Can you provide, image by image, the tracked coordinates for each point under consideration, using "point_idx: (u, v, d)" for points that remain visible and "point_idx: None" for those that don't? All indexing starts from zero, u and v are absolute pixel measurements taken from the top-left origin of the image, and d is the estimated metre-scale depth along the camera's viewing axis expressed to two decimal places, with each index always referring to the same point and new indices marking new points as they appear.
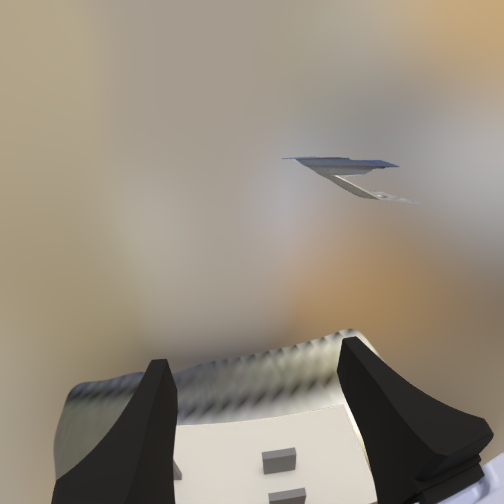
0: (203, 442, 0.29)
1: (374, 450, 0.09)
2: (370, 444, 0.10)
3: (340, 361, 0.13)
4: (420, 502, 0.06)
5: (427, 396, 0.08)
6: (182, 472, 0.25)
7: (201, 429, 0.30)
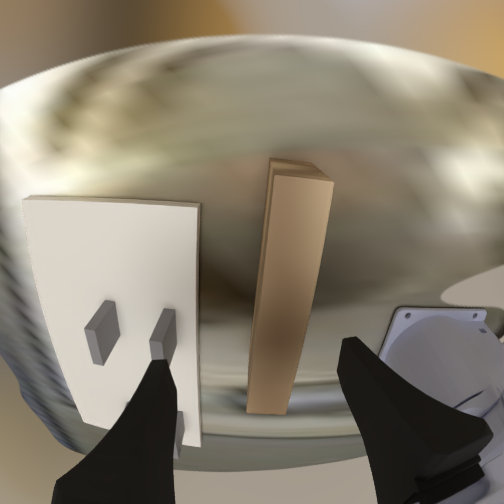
0: (84, 376, 0.24)
1: (374, 450, 0.09)
2: (370, 444, 0.10)
3: (340, 361, 0.13)
4: (421, 502, 0.06)
5: (427, 396, 0.08)
6: (125, 400, 0.25)
7: (68, 373, 0.24)
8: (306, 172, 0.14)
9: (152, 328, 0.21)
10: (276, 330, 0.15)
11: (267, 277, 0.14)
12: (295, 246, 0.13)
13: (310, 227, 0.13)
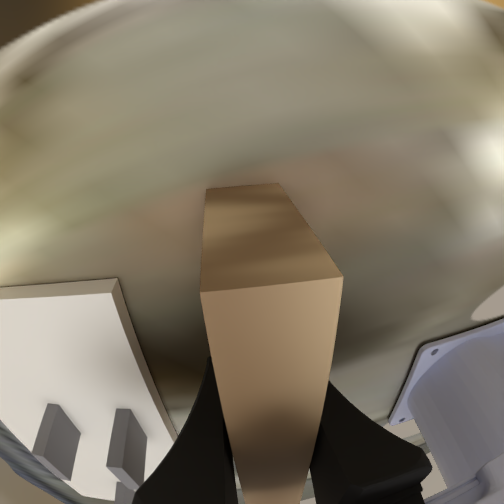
0: None
1: (313, 465, 0.09)
2: None
3: None
4: None
5: (362, 416, 0.08)
6: (114, 481, 0.18)
7: None
8: (274, 238, 0.07)
9: (112, 426, 0.14)
10: (265, 470, 0.09)
11: (234, 433, 0.07)
12: (274, 394, 0.07)
13: (300, 364, 0.06)
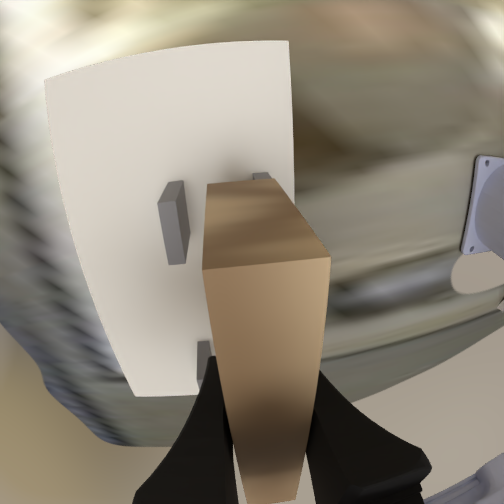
0: (134, 320, 0.20)
1: (312, 466, 0.09)
2: (310, 459, 0.09)
3: None
4: None
5: (362, 416, 0.08)
6: (195, 340, 0.21)
7: (111, 324, 0.20)
8: (269, 225, 0.07)
9: None
10: (263, 452, 0.09)
11: (233, 411, 0.08)
12: (270, 371, 0.07)
13: (293, 341, 0.07)
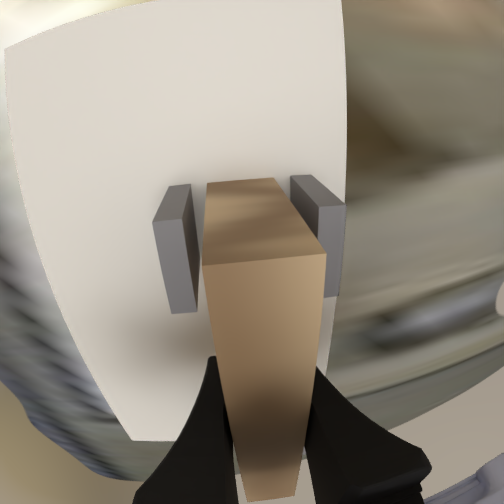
0: (127, 364, 0.15)
1: (313, 466, 0.09)
2: (310, 459, 0.09)
3: None
4: None
5: (362, 416, 0.08)
6: None
7: (98, 366, 0.15)
8: (267, 223, 0.08)
9: None
10: (262, 447, 0.09)
11: (232, 406, 0.08)
12: (268, 366, 0.07)
13: (290, 335, 0.07)
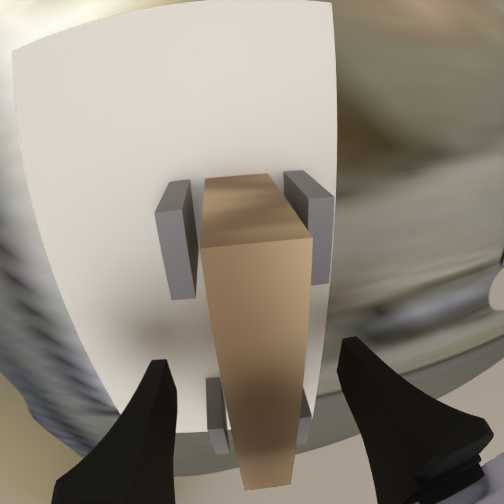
0: (128, 354, 0.15)
1: (374, 450, 0.09)
2: (370, 444, 0.10)
3: (340, 361, 0.13)
4: (421, 502, 0.06)
5: (427, 396, 0.08)
6: (203, 377, 0.17)
7: (100, 357, 0.15)
8: (260, 213, 0.08)
9: None
10: (257, 430, 0.10)
11: (228, 386, 0.09)
12: (262, 345, 0.08)
13: (281, 315, 0.08)
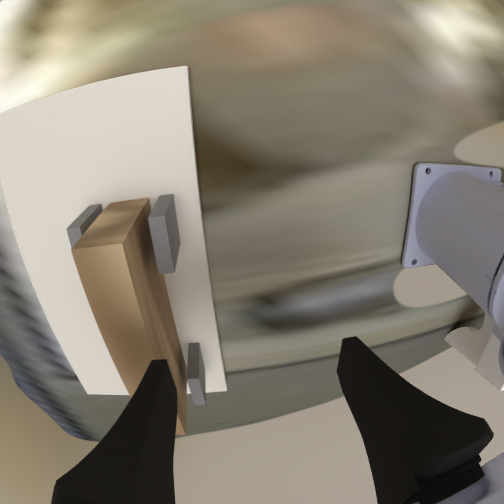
0: (76, 325, 0.21)
1: (374, 450, 0.09)
2: (370, 444, 0.10)
3: (340, 361, 0.13)
4: (421, 502, 0.06)
5: (427, 396, 0.08)
6: None
7: (58, 327, 0.21)
8: (113, 228, 0.13)
9: None
10: (133, 371, 0.15)
11: (103, 332, 0.14)
12: (113, 305, 0.13)
13: (118, 287, 0.13)
